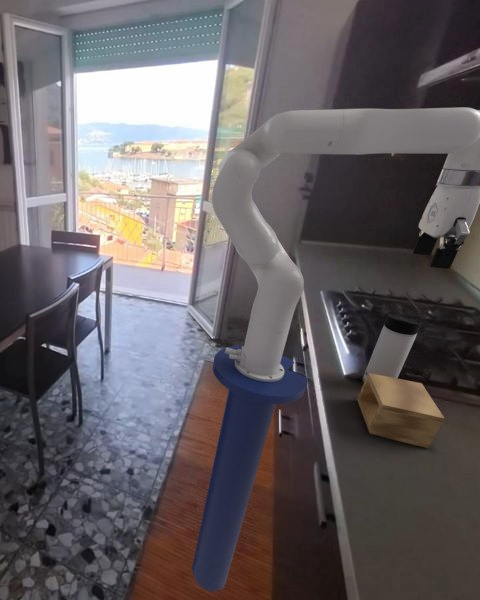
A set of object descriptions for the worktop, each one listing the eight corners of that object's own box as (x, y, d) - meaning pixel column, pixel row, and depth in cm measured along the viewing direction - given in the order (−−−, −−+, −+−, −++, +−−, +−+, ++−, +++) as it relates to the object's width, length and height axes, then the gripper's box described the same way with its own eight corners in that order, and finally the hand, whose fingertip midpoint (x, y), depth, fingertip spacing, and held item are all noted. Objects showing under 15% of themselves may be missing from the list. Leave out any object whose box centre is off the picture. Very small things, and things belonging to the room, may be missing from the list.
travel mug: (358, 384, 93) (385, 316, 84) (365, 373, 97) (391, 308, 88) (388, 396, 88) (420, 326, 80) (394, 384, 92) (425, 316, 84)
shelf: (369, 433, 77) (382, 404, 74) (357, 399, 87) (367, 372, 84) (428, 448, 74) (445, 418, 70) (408, 411, 84) (421, 383, 80)
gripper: (423, 174, 79) (395, 248, 87) (460, 183, 65) (423, 271, 72) (467, 175, 77) (435, 251, 84) (516, 185, 62) (472, 276, 70)
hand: (429, 260), depth 78 cm, fingers open, 9 cm apart
